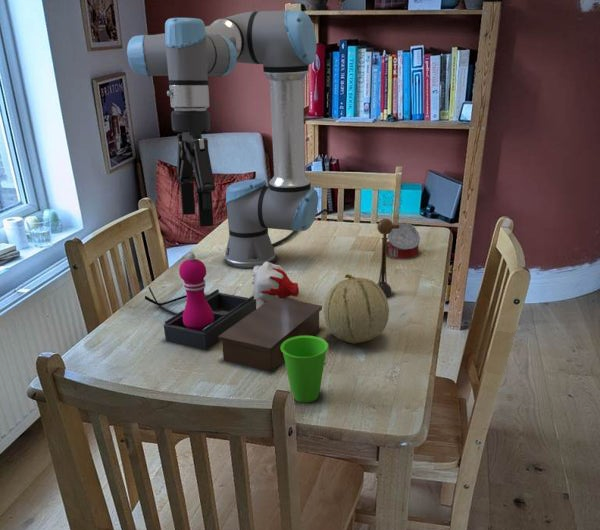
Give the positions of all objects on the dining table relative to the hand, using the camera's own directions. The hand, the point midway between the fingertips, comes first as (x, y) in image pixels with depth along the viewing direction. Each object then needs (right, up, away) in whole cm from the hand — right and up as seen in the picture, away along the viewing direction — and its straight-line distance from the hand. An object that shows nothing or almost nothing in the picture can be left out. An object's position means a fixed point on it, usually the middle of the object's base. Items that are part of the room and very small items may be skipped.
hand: (197, 220), depth 135 cm
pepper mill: (-2, -23, +15) cm, 28 cm away
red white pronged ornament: (+15, -12, +33) cm, 38 cm away
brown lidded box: (+16, -25, +10) cm, 32 cm away
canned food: (+53, +7, +61) cm, 82 cm away
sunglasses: (-11, -14, +30) cm, 35 cm away
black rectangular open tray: (+1, -20, +19) cm, 28 cm away
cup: (+23, -37, -9) cm, 45 cm away
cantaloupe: (+35, -24, +11) cm, 44 cm away
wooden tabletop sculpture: (+44, -10, +34) cm, 57 cm away
